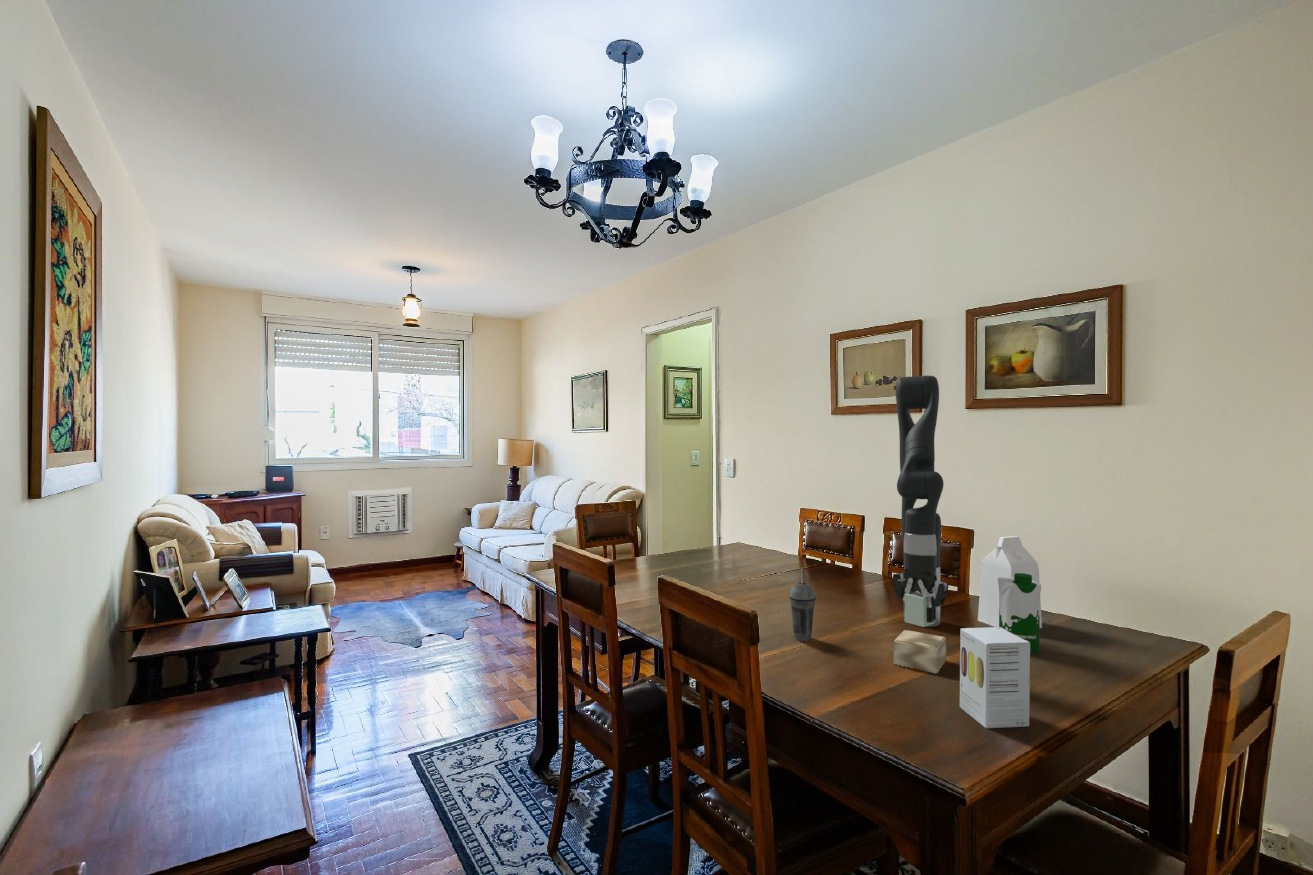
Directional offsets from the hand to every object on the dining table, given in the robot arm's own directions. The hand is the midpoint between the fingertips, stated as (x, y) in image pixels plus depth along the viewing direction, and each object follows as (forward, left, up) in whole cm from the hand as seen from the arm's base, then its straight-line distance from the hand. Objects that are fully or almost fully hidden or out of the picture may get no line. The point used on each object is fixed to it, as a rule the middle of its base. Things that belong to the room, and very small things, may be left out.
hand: (919, 618), depth 154 cm
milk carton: (+10, +30, -11) cm, 34 cm away
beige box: (0, 0, -11) cm, 11 cm away
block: (0, 0, -1) cm, 1 cm away
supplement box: (+25, -15, -11) cm, 31 cm away
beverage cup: (-29, -10, -11) cm, 33 cm away
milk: (-1, +49, -11) cm, 50 cm away
